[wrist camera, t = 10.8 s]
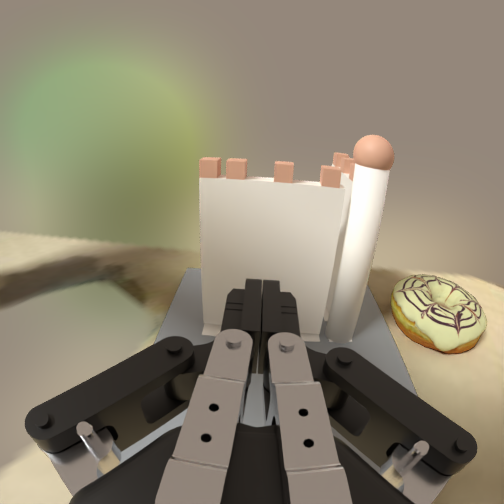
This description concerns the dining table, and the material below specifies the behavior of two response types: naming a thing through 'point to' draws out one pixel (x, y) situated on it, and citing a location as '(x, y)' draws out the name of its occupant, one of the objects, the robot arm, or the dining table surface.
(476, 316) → the decorated donut
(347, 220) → the fence post and fixed panel
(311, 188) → the white crenellated wall panel
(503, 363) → the dining table surface
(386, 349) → the card
